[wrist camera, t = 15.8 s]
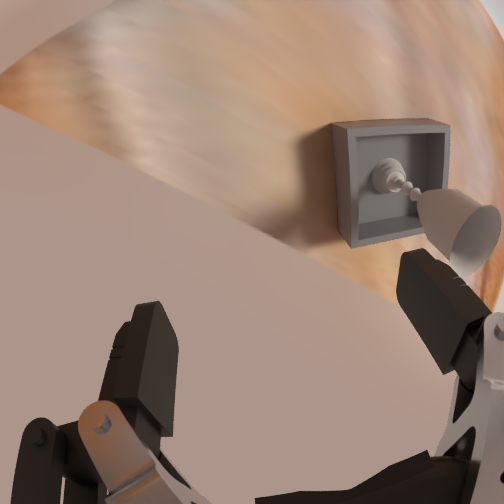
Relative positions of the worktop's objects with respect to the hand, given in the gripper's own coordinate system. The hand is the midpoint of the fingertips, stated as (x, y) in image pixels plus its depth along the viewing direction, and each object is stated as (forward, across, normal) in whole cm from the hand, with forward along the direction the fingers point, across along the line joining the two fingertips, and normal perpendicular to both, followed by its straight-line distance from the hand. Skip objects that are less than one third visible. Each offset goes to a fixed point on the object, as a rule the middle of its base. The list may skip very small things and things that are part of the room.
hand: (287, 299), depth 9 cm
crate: (+28, -19, +7) cm, 35 cm away
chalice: (+27, -19, +7) cm, 34 cm away
